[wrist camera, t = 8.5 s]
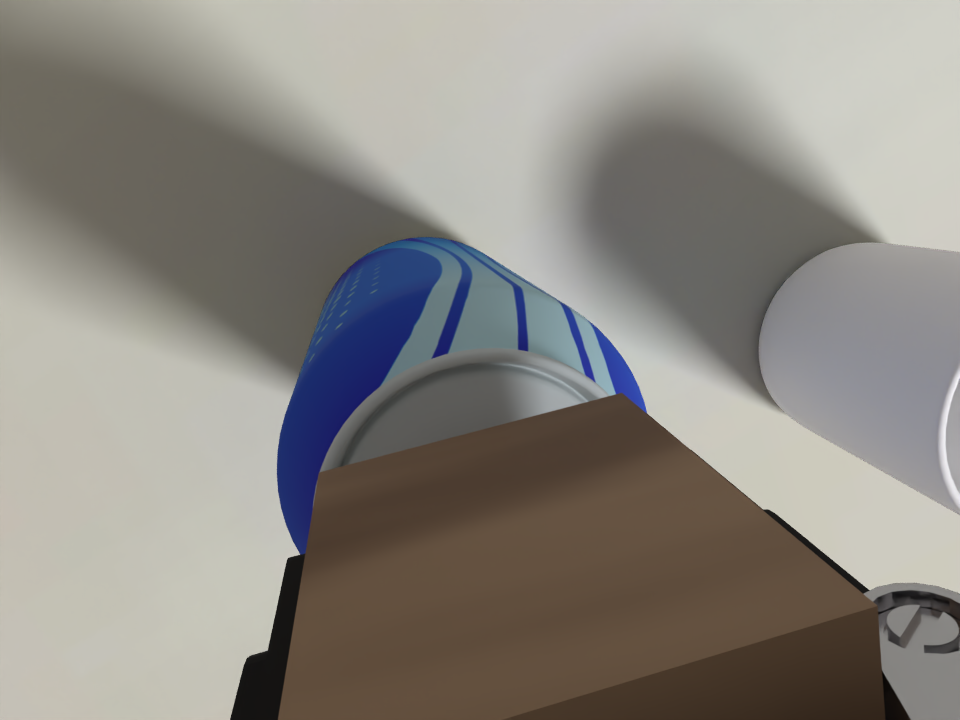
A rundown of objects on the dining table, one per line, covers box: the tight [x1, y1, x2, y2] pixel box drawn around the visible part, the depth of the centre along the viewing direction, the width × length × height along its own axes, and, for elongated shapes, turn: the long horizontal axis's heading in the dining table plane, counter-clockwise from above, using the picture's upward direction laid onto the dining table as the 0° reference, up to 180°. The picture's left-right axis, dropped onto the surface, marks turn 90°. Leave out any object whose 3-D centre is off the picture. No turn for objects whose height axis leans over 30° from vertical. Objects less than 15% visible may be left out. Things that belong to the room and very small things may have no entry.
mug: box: [759, 242, 960, 515], centre depth 27 cm, size 9×12×11 cm
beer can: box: [277, 237, 647, 555], centre depth 21 cm, size 8×8×16 cm
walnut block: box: [278, 393, 885, 720], centre depth 9 cm, size 5×5×6 cm
